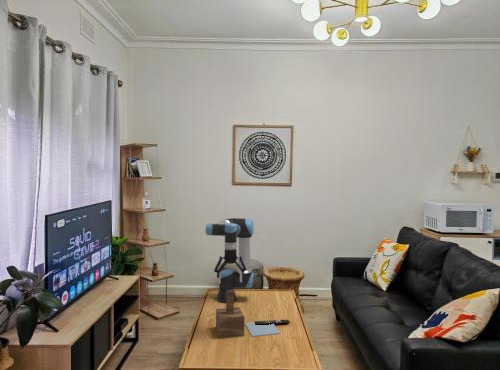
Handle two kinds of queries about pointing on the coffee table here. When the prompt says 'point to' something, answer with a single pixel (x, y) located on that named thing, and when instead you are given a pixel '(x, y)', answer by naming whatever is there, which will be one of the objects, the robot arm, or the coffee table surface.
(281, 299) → the coffee table surface
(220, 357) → the coffee table surface
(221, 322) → the cover
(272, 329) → the mat
